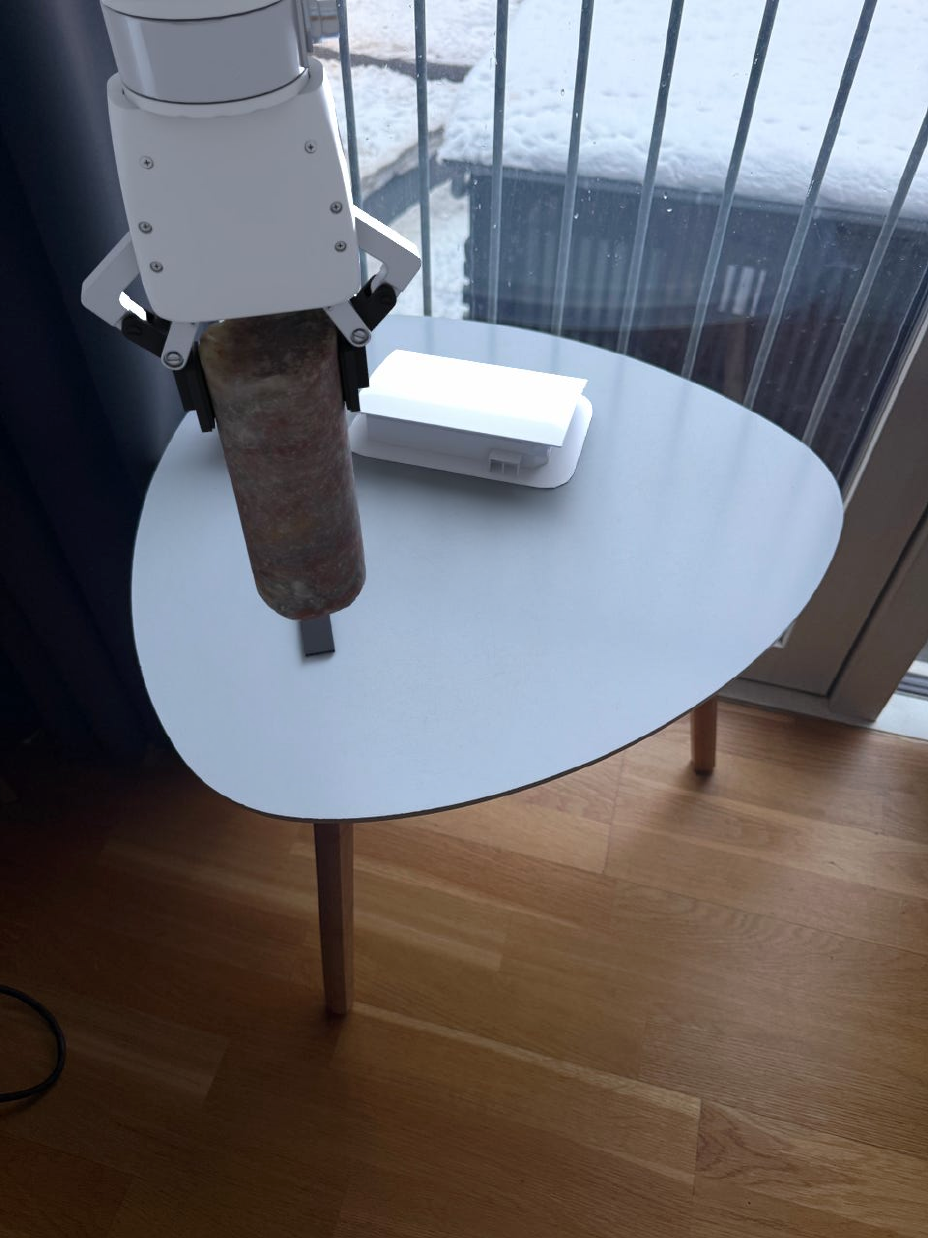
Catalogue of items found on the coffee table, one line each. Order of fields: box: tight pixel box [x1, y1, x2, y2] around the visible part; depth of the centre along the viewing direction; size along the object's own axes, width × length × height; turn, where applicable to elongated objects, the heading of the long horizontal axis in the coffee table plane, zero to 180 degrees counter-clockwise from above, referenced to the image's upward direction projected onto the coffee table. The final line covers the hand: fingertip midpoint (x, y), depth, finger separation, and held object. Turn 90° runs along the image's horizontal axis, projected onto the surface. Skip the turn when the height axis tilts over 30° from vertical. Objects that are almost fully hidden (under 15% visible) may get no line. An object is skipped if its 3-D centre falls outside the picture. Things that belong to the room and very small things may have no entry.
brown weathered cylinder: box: [198, 308, 367, 621], centre depth 54 cm, size 8×7×20 cm
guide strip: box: [299, 614, 336, 657], centre depth 81 cm, size 2×27×1 cm, turn 12°
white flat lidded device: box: [348, 349, 593, 489], centre depth 90 cm, size 15×23×4 cm, turn 74°
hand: (279, 404), depth 50 cm, fingers closed on brown weathered cylinder, 7 cm apart
